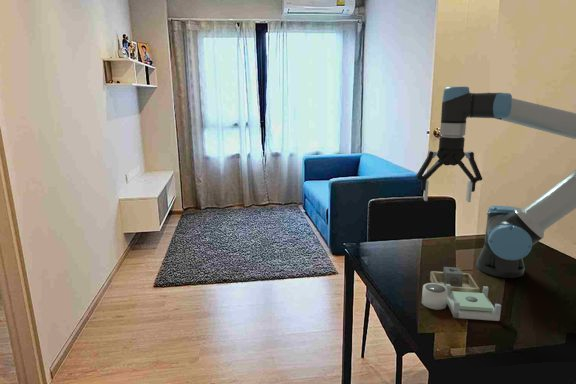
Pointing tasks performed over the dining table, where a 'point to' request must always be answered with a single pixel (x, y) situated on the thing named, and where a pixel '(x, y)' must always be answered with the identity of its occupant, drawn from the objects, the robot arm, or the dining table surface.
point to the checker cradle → (472, 313)
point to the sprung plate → (472, 301)
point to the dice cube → (452, 276)
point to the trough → (467, 286)
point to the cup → (434, 296)
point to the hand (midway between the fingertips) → (446, 200)
